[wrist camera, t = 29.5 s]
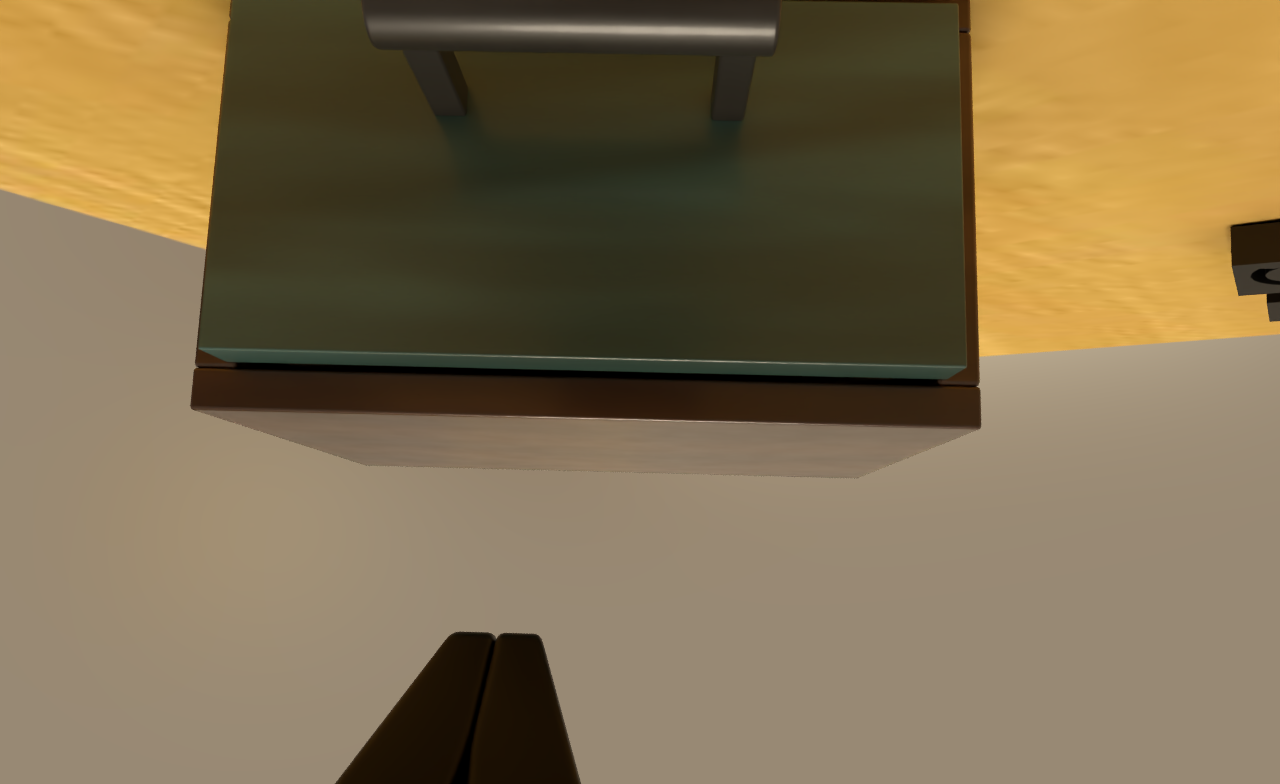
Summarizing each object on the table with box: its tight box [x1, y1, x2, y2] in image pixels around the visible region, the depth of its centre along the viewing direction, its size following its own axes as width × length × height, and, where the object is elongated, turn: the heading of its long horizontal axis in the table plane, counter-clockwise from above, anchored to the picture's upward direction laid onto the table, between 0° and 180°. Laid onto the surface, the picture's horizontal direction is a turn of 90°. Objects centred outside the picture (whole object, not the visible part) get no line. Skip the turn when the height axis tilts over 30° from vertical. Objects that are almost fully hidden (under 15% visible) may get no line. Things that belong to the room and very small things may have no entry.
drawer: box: [198, 0, 967, 384], centre depth 22 cm, size 15×13×7 cm
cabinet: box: [190, 0, 981, 478], centre depth 25 cm, size 12×15×9 cm
